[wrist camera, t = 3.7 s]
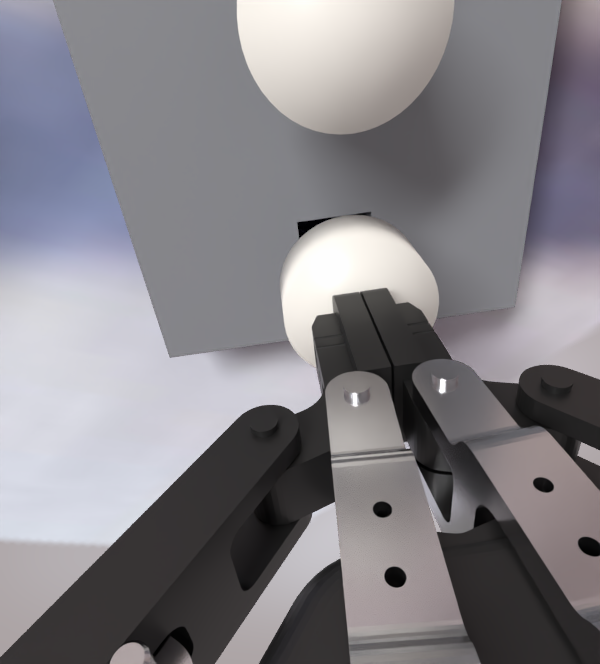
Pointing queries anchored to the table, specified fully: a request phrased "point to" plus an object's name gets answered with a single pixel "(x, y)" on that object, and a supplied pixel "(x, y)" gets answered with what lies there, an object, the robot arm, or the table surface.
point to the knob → (350, 273)
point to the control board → (306, 160)
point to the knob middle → (343, 57)
